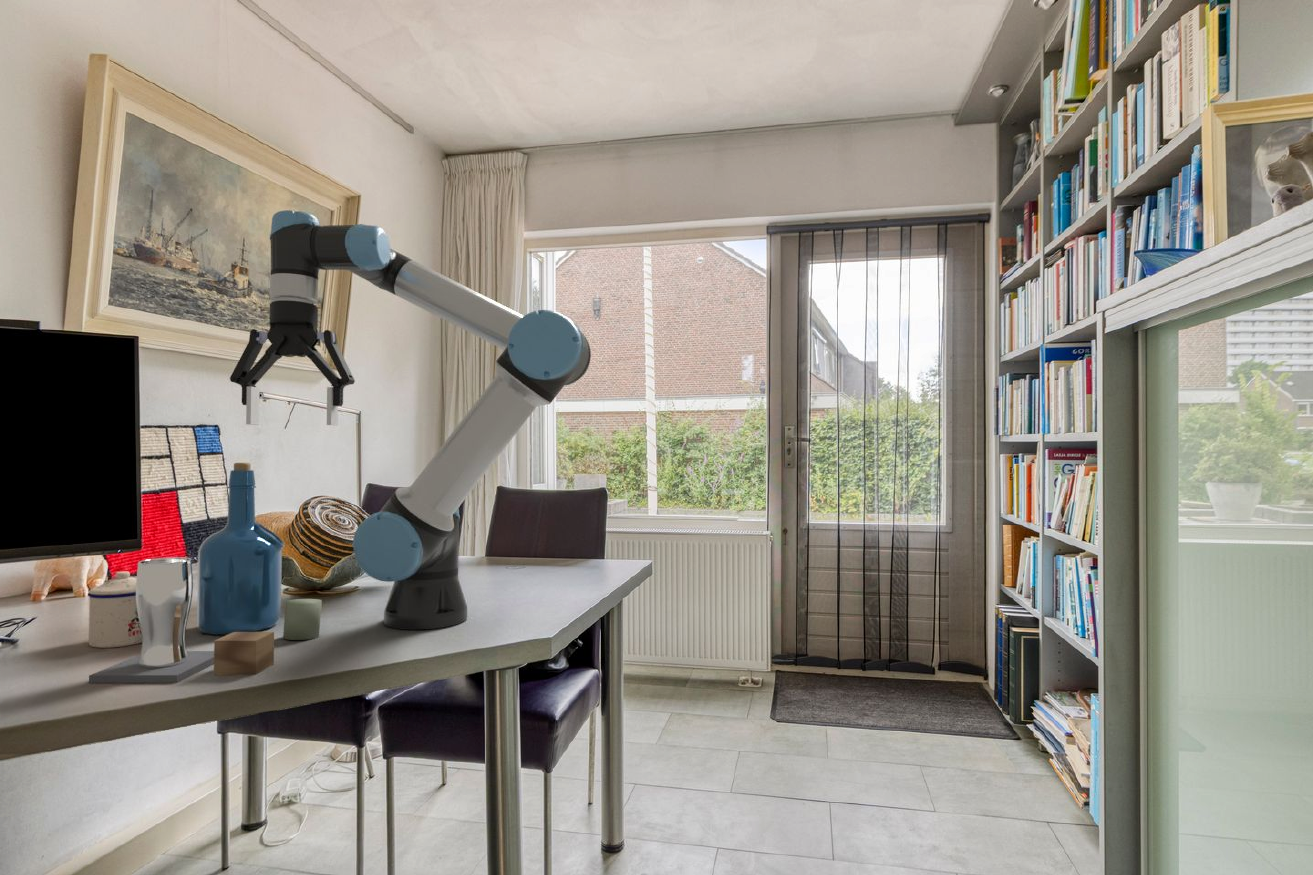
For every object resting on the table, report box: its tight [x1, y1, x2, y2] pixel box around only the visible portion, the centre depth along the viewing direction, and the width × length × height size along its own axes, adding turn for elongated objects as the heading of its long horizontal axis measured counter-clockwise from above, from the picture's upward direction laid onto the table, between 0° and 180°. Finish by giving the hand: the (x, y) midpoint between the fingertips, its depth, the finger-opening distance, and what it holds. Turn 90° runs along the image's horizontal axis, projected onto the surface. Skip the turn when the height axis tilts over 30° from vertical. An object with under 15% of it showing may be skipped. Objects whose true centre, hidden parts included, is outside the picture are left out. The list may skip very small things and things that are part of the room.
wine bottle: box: [196, 462, 285, 636], centre depth 131 cm, size 14×13×30 cm
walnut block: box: [213, 631, 275, 676], centre depth 106 cm, size 6×5×5 cm
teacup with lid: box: [87, 570, 142, 649], centre depth 122 cm, size 12×9×12 cm
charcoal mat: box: [88, 650, 214, 684], centre depth 105 cm, size 12×12×1 cm
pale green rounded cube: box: [282, 598, 323, 641], centre depth 124 cm, size 6×6×6 cm
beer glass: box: [136, 556, 194, 668], centre depth 106 cm, size 7×7×15 cm
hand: (292, 425), depth 124 cm, fingers open, 13 cm apart
